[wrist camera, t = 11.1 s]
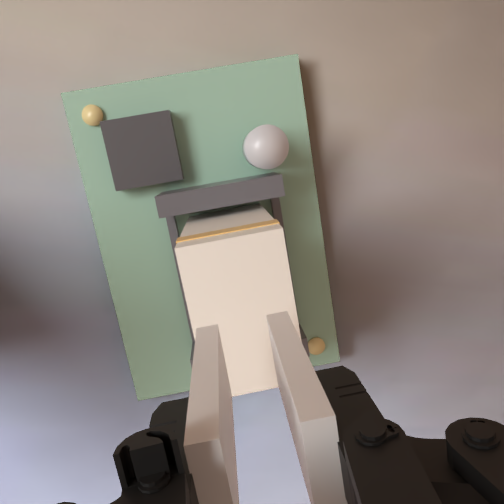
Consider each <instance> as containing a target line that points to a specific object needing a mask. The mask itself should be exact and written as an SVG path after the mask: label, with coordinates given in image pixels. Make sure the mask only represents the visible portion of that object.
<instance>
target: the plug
mask: <svg viewBox="0 0 504 504" xmlns="http://www.w3.org/2000/svg"><path fill="white" fill-rule="evenodd" d="M174 249H175V254H176V258H177V263H178V267H179V272H180V276H181V281H182V285H183V290H184V294H185V299H186V303H187V308H188V312H189V317H190V321H191V326H192V330H193V335H194V339H195V337H196V328H200V327H205V326H210V325H216V324H218V328H219V333H220V338H221V343H222V348H223V353H224V358H225V363H226V368H227V373H228V378H229V383H230V388H231V393H232V397H233V396H238V395H243V394H248V393H253V392H258V391H262V390H267V389H272V388H277V387H279V386H278V381H277V375H276V370H275V364H274V358H273V352H272V347H271V341H270V335H269V329H268V323H267V318H266V315H268V314H273V313H279V312H284V311H287V312H288V314H289V316H290V318H291V321H292V323H293V325H294V327H295V329H296V331H297V333H298V336H299V338H300V340H301V335H300V329H299V323H298V317H297V311H296V305H295V299H294V293H293V286H292V280H291V274H290V268H289V262H288V256H287V250H286V244H285V238H284V232H283V228H282V227H281V226H280V222H279V221H278V220H277V219H274V218H273V217H272V216H271V215H270V214H269V213H268V212H267V211H266V210H265V209H264V208H263V207H262V205H261V204H260V203H259V204H253V205H248V206H243V207H237V208H232V209H227V210H221V211H216V212H211V213H205V214H200V215H195V216H189V217H188V219H187V222H186V224H185V226H184V228H183V231H182V233H181V235H180V237H179V238H177V240H176V246H175V248H174ZM301 342H302V341H301Z"/></svg>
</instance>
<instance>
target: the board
mask: <svg viewBox="0 0 504 504" xmlns="http://www.w3.org/2000/svg"><path fill="white" fill-rule="evenodd" d="M61 96H62V100H63V104H64V108H65V112H66V116H67V120H68V124H69V128H70V132H71V136H72V140H73V144H74V148H75V152H76V156H77V160H78V164H79V168H80V172H81V176H82V180H83V184H84V188H85V192H86V196H87V200H88V204H89V207H90V211H91V215H92V219H93V223H94V227H95V231H96V235H97V239H98V243H99V247H100V251H101V255H102V259H103V263H104V267H105V271H106V275H107V279H108V283H109V287H110V291H111V295H112V299H113V303H114V307H115V311H116V315H117V319H118V323H119V327H120V331H121V335H122V339H123V343H124V347H125V351H126V355H127V359H128V363H129V367H130V371H131V375H132V379H133V383H134V387H135V391H136V395H137V399H138V401H140V400H145V399H150V398H155V397H160V396H165V395H170V394H176V393H181V392H186V391H190V382H191V373H192V367H191V363H190V357H191V349H192V338H191V333H190V329H189V324H188V319H187V315H186V310H185V305H184V301H183V296H182V291H181V287H180V282H179V277H178V273H177V268H176V263H175V259H174V254H173V249H172V245H171V240H170V235H169V231H168V226H167V221H166V217H165V218H160V219H159V216H158V211H157V207H156V202H155V196H156V195H158V194H159V193H161V192H164V191H170V190H175V189H181V188H187V187H192V186H198V185H204V184H209V183H215V182H220V181H226V180H232V179H237V178H243V177H249V176H254V175H260V174H266V173H271V172H275V173H279V174H282V178H283V185H284V191H285V196H282V197H279V199H280V205H281V211H282V218H283V224H284V230H285V237H286V243H287V250H288V256H289V262H290V269H291V275H292V282H293V288H294V294H295V301H296V307H297V314H298V320H299V323H300V325H301V327H302V329H303V331H304V333H305V335H306V337H307V341H308V348H309V354H310V357H309V359H310V361H311V364H312V366H318V365H323V364H329V363H334V362H339V361H340V357H339V350H338V342H337V335H336V328H335V321H334V313H333V306H332V299H331V292H330V284H329V277H328V270H327V262H326V255H325V248H324V241H323V233H322V226H321V219H320V212H319V204H318V197H317V190H316V182H315V175H314V168H313V161H312V153H311V146H310V139H309V132H308V124H307V117H306V110H305V102H304V95H303V88H302V81H301V73H300V66H299V59H298V54H294V55H288V56H282V57H276V58H270V59H264V60H258V61H252V62H246V63H240V64H234V65H228V66H222V67H216V68H210V69H204V70H198V71H192V72H185V73H179V74H173V75H167V76H161V77H155V78H149V79H143V80H137V81H131V82H125V83H119V84H113V85H107V86H101V87H95V88H89V89H83V90H77V91H71V92H65V93H61ZM259 203H260V204H261V205H262V207H263V208H264V209H265V210H266V211H267V212H268V213H269V214H270V215H271V216H272V217H273V215H272V209H271V202H270V199H266V200H260V201H255V202H249V203H243V204H238V205H232V206H227V207H221V208H216V209H210V210H204V211H199V212H193V213H188V214H182V215H177V216H175V217H176V221H177V226H178V231H179V236H180V235H181V233H182V231H183V228H184V226H185V224H186V222H187V219H188V217H189V216H195V215H200V214H205V213H211V212H216V211H221V210H227V209H232V208H237V207H243V206H248V205H253V204H259Z"/></svg>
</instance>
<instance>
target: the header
mask: <svg viewBox="0 0 504 504" xmlns="http://www.w3.org/2000/svg"><path fill="white" fill-rule="evenodd" d="M282 196H285V191H284V185H283V178H282V174H279V173H275V172H271V173H266V174H260V175H254V176H249V177H243V178H237V179H232V180H226V181H220V182H215V183H209V184H204V185H198V186H192V187H187V188H181V189H175V190H170V191H164V192H161V193H159V194H158V195H156V196H155V202H156V207H157V211H158V216H159V219H160V218H165V217H166V221H167V226H168V231H169V235H170V240H171V245H172V249H173V254H174V259H175V263H176V268H177V273H178V277H179V282H180V287H181V291H182V296H183V301H184V305H185V310H186V315H187V319H188V324H189V329H190V333H191V338H192V349H191V357H190V363H191V367H192V364H193V355H194V346H195V339H194V335H193V330H192V326H191V321H190V317H189V312H188V308H187V303H186V299H185V294H184V290H183V285H182V281H181V276H180V272H179V267H178V263H177V258H176V254H175V249H174V248H175V246H176V240H177V238H179V237H180V236H179V231H178V226H177V221H176V217H175V216H177V215H182V214H188V213H193V212H199V211H204V210H210V209H216V208H221V207H227V206H232V205H238V204H243V203H249V202H255V201H260V200H266V199H270V202H271V209H272V215H273V218H274V219H277V220H278V221H279V222H280V226H281V227H282V228H283V232H284V238H285V244H286V250H287V243H286V237H285V230H284V224H283V218H282V211H281V205H280V199H279V197H282ZM287 256H288V250H287ZM288 262H289V256H288ZM289 268H290V262H289ZM290 274H291V269H290ZM291 280H292V275H291ZM292 286H293V282H292ZM293 293H294V288H293ZM294 299H295V294H294ZM295 305H296V301H295ZM296 311H297V307H296ZM297 317H298V314H297ZM298 323H299V320H298ZM299 329H300V335H301V341H302V344H303V346H304V349H305V351H306V353H307V355H308V357H310V354H309V348H308V341H307V337H306V335H305V333H304V331H303V329H302V327H301V325H300V323H299Z"/></svg>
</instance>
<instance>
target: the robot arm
mask: <svg viewBox="0 0 504 504" xmlns="http://www.w3.org/2000/svg"><path fill="white" fill-rule="evenodd" d="M266 318H267V323H268V329H269V335H270V341H271V347H272V352H273V358H274V364H275V370H276V375H277V381H278V386H279V390H280V393H281V397H282V401H283V404H284V408H285V411H286V415H287V419H288V422H289V426H290V430H291V433H292V437H293V441H294V444H295V448H296V451H297V455H298V459H299V462H300V466H301V470H302V473H303V477H304V481H305V484H306V488H307V491H308V495H309V499H310V502H311V504H504V425H502V424H500V423H498V422H495V421H492V420H488V419H484V418H465V419H460V420H457V421H455V422H453V423H451V424H450V425H449V426H448V428H447V429H446V431H445V434H446V439H423V438H415V437H410V436H406V434H405V432H404V431H403V430H402V429H401V427H400V426H399V425H398V424H396V423H394V422H392V421H390V420H387V419H384V417H383V416H382V414H381V413H380V411H379V410H378V408H377V406H376V405H375V403H374V402H373V400H372V399H371V397H370V396H369V394H368V393H367V392H366V389H365V388H364V386H363V385H362V384H361V382H360V380H359V379H358V377H357V375H356V374H355V373H354V372H353V371H351V370H349V369H347V368H346V367H344V366H339V367H334V368H329V369H324V370H318V371H315V370H314V368H313V366H312V364H311V361H310V359H309V357H308V355H307V353H306V351H305V349H304V346H303V344H302V342H301V340H300V338H299V336H298V333H297V331H296V329H295V327H294V325H293V323H292V321H291V318H290V316H289V314H288V312H287V311H284V312H279V313H273V314H268V315H266ZM113 457H114V461H115V465H116V468H117V472H118V476H119V479H120V483H121V487H122V494H121V497H119V498H118V499H117V500H115V501H114V502H112V503H110V504H239V495H238V481H237V466H236V451H235V436H234V422H233V407H232V393H231V388H230V383H229V378H228V373H227V368H226V363H225V358H224V353H223V348H222V343H221V338H220V333H219V328H218V324H216V325H210V326H205V327H200V328H196V337H195V346H194V355H193V364H192V373H191V382H190V391H189V397H188V398H183V399H178V400H173V401H168V402H163V403H161V404H160V406H159V407H158V408H157V409H156V410H155V412H154V413H153V414H152V417H151V422H150V428H149V429H145V430H142V431H139V432H137V433H134V434H133V435H131V436H129V437H128V438H126V439H125V440H124V441H123V442H122V443H121V444H119V445H118V446H117V448H116V450H115V452H114V454H113ZM58 504H76V503H70V502H62V503H58Z"/></svg>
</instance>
